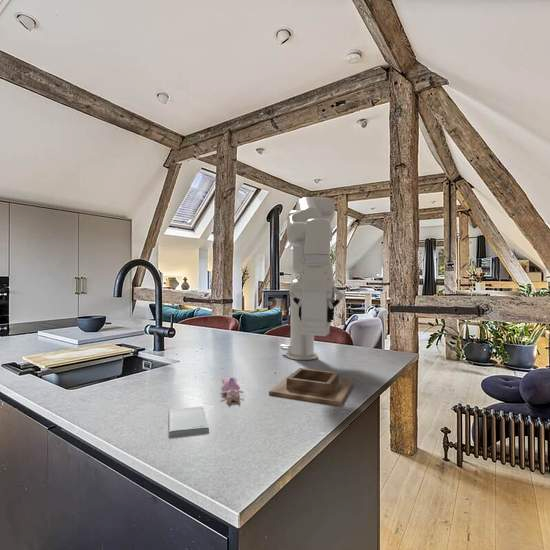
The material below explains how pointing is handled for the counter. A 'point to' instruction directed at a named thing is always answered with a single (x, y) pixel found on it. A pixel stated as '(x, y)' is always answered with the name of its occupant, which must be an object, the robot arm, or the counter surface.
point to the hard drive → (187, 421)
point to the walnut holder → (313, 386)
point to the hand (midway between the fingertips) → (315, 320)
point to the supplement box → (314, 314)
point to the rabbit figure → (231, 389)
